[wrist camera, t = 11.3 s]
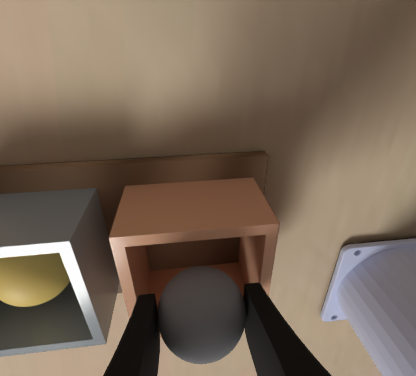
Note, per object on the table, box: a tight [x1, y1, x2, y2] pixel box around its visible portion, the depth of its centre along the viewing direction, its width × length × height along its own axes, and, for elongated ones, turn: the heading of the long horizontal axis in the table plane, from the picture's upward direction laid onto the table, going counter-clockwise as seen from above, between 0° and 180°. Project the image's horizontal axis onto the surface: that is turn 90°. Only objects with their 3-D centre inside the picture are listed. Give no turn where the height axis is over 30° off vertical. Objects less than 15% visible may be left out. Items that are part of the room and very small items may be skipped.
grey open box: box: [0, 188, 120, 357], centre depth 13 cm, size 7×7×4 cm
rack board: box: [0, 151, 268, 293], centre depth 15 cm, size 16×9×1 cm, turn 91°
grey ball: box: [157, 266, 246, 364], centre depth 11 cm, size 4×4×4 cm
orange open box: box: [109, 177, 280, 337], centre depth 14 cm, size 7×7×4 cm
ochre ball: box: [0, 253, 70, 307], centre depth 13 cm, size 4×4×4 cm
